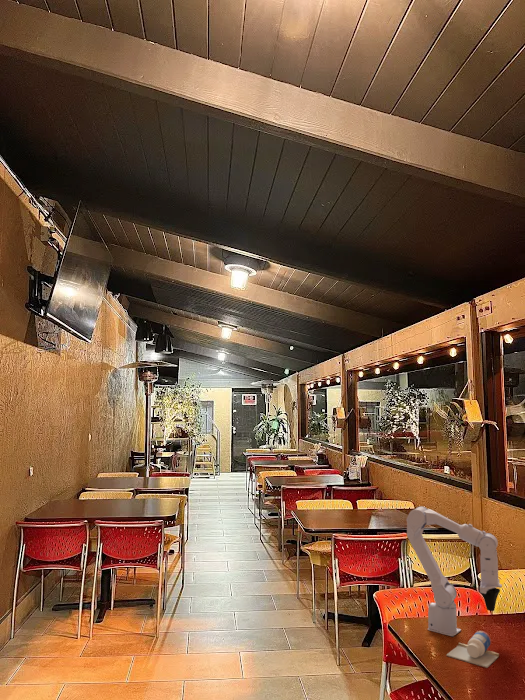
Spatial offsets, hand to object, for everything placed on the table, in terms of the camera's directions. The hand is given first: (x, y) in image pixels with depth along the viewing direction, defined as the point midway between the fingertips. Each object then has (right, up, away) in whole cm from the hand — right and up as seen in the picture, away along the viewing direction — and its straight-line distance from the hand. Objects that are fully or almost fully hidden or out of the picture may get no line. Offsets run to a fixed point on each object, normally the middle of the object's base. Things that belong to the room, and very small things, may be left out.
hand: (490, 610), depth 197 cm
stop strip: (-9, -9, -11) cm, 16 cm away
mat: (-12, -8, -15) cm, 21 cm away
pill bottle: (-6, -5, -10) cm, 13 cm away
